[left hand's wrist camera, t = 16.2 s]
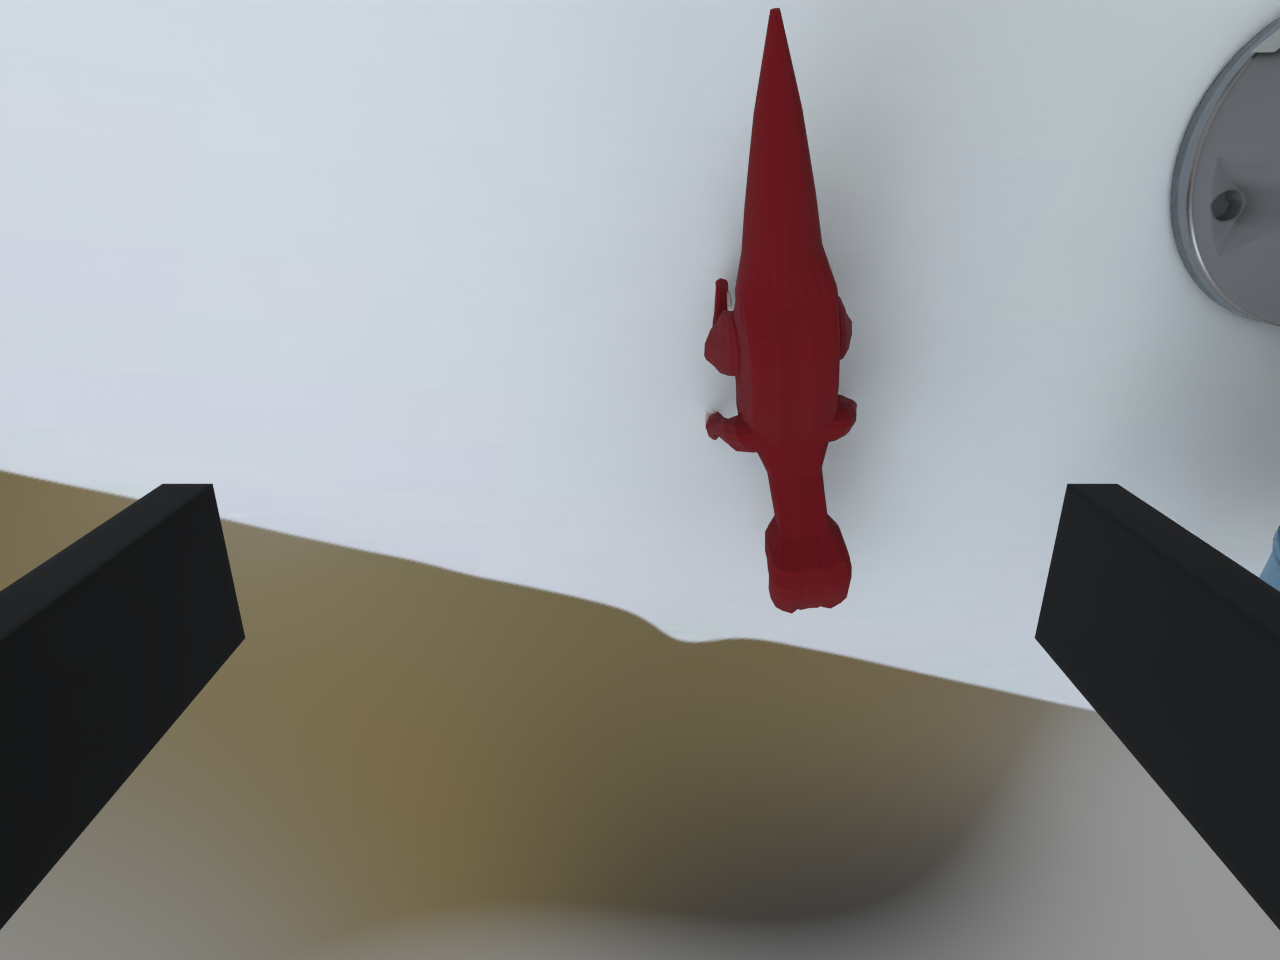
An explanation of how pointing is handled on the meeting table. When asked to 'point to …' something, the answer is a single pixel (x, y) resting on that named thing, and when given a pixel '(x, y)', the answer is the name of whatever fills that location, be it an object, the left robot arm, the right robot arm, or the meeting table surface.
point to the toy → (786, 344)
